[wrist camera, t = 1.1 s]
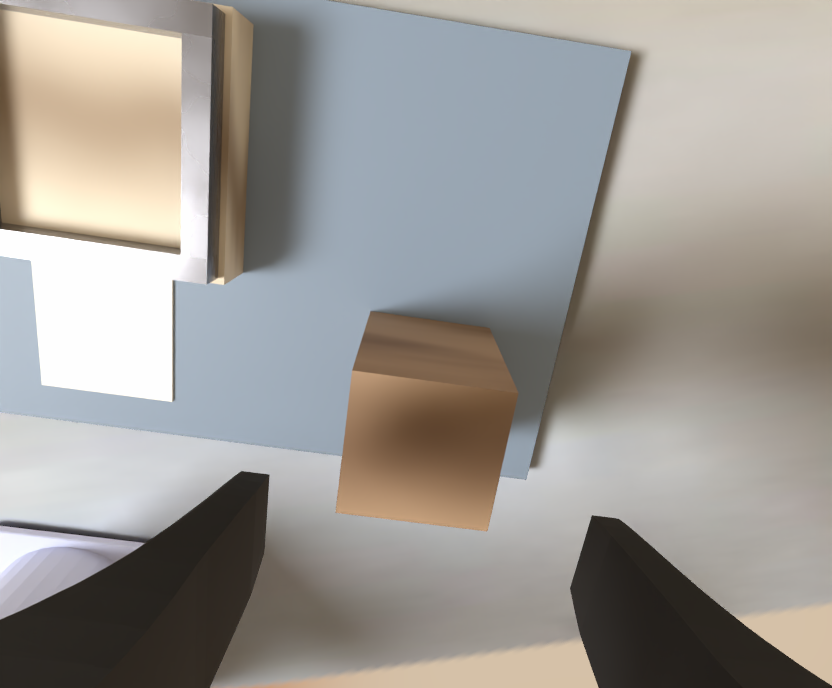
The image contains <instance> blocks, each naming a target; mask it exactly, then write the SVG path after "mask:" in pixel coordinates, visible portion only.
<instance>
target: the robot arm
mask: <svg viewBox="0 0 832 688" xmlns="http://www.w3.org/2000/svg"><path fill="white" fill-rule="evenodd" d="M268 489H269V475H267V474H259V473H252V472H244V471H241V472H240V473H238V474H237V475H236V476H234V477H233V478H232V479H230V480H229V481H228V482H227V483H225V484H224V485H223V486H222V487H220V488H219V489H218V490H217V491H215V492H214V493H213V494H212V495H210V496H209V497H208V498H207V499H205V500H204V501H203V502H201V503H200V504H199V505H198V506H196V507H195V508H194V509H192V510H191V511H190V512H188V513H187V514H186V515H184V516H183V517H182V518H180V519H179V520H178V521H176V522H175V523H174V524H172V525H171V526H170V527H168V528H167V529H165V530H164V531H162V532H161V533H159V534H158V535H156V536H155V537H154V538H152V539H151V540H149V541H148V542H146V543H141V542H133V541H124V540H116V539H108V538H99V537H91V536H82V535H74V534H65V533H57V532H48V531H40V530H32V529H23V528H15V527H6V526H0V688H210V685H211V683H212V681H213V679H214V677H215V674H216V672H217V670H218V668H219V665H220V663H221V661H222V659H223V656H224V654H225V652H226V650H227V648H228V645H229V643H230V641H231V639H232V636H233V634H234V632H235V630H236V627H237V625H238V623H239V621H240V618H241V616H242V614H243V612H244V609H245V607H246V605H247V603H248V600H249V598H250V596H251V593H252V589H253V586H254V583H255V580H256V577H257V574H258V571H259V567H260V564H261V561H262V558H263V554H264V549H265V534H266V519H267V504H268ZM570 589H571V594H572V599H573V604H574V609H575V614H576V618H577V623H578V627H579V631H580V635H581V638H582V641H583V644H584V647H585V649H586V652H587V655H588V658H589V661H590V664H591V667H592V670H593V673H594V676H595V678H596V681H597V684H598V687H599V688H832V686H831V685H830V684H828V683H826V682H825V681H823V680H822V679H820V678H819V677H817V676H816V675H814V674H813V673H811V672H810V671H808V670H807V669H805V668H804V667H802V666H801V665H799V664H798V663H796V662H795V661H793V660H792V659H791V658H789V657H788V656H786V655H785V654H784V653H782V652H781V651H779V650H778V649H777V648H775V647H774V646H772V645H771V644H769V643H768V642H766V641H765V640H764V639H762V638H761V637H760V636H758V635H757V634H756V633H754V632H753V631H752V630H750V629H749V628H748V627H746V626H745V625H744V624H743V623H741V622H740V621H739V620H738V619H736V618H735V617H734V616H733V615H731V614H730V613H729V612H728V611H726V610H725V609H724V608H723V607H721V606H720V605H719V604H718V603H716V602H715V601H714V600H713V599H711V598H710V597H709V596H708V595H707V594H705V593H704V592H703V591H702V590H701V589H700V588H698V587H697V586H696V585H695V584H694V583H693V582H691V581H690V580H689V579H688V578H687V577H686V576H684V575H683V574H682V573H681V572H680V571H679V570H678V569H676V568H675V567H674V566H673V565H672V564H671V563H670V562H669V561H667V560H666V559H665V558H664V557H663V556H662V555H661V554H660V553H658V552H657V551H656V550H655V549H654V548H653V547H652V546H651V545H649V544H648V543H647V542H646V541H645V540H644V539H643V538H641V537H640V536H639V535H638V534H637V533H636V532H635V531H633V530H632V529H631V528H630V527H629V526H627V525H626V524H625V523H624V522H622V521H621V520H620V519H616V518H608V517H601V516H593V515H592V517H591V521H590V524H589V527H588V531H587V534H586V537H585V541H584V544H583V547H582V551H581V554H580V557H579V561H578V564H577V567H576V571H575V574H574V577H573V581H572V584H571V587H570Z"/></svg>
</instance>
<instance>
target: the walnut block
mask: <svg viewBox="0 0 832 688" xmlns="http://www.w3.org/2000/svg"><path fill="white" fill-rule="evenodd" d="M518 394H519V393H518V391H517V388H516V386H515V384H514V382H513V379H512V377H511V375H510V373H509V370H508V368H507V366H506V364H505V361H504V359H503V357H502V355H501V352H500V350H499V348H498V346H497V344H496V341H495V339H494V337H493V335H492V332H491V330H490V328H486V327H479V326H472V325H465V324H458V323H451V322H444V321H437V320H430V319H423V318H415V317H408V316H401V315H394V314H387V313H380V312H373V311H370V314H369V318H368V321H367V324H366V327H365V330H364V334H363V337H362V340H361V343H360V346H359V350H358V353H357V356H356V359H355V363H354V366H353V369H352V375H351V384H350V392H349V401H348V410H347V418H346V427H345V436H344V444H343V453H342V462H341V470H340V479H339V487H338V496H337V505H336V513H343V514H351V515H359V516H367V517H375V518H383V519H391V520H399V521H408V522H416V523H424V524H432V525H440V526H448V527H456V528H464V529H472V530H481V531H487V530H488V526H489V522H490V517H491V513H492V508H493V504H494V499H495V495H496V491H497V486H498V482H499V477H500V473H501V469H502V464H503V460H504V455H505V451H506V447H507V442H508V438H509V433H510V429H511V424H512V420H513V416H514V411H515V407H516V402H517V398H518Z"/></svg>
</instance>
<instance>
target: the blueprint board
mask: <svg viewBox="0 0 832 688" xmlns="http://www.w3.org/2000/svg"><path fill="white" fill-rule="evenodd" d="M630 55H631V51H627V50H621V49H615V48H609V47H603V46H597V45H591V44H585V43H579V42H574V41H568V40H562V39H556V38H550V37H544V36H538V35H532V34H526V33H520V32H514V31H508V30H502V29H496V28H490V27H484V26H478V25H472V24H466V23H460V22H454V21H448V20H442V19H436V18H430V17H424V16H418V15H412V14H406V13H400V12H394V11H388V10H382V9H376V8H370V7H364V6H358V5H352V4H346V3H340V2H334V1H328V0H0V412H1V413H9V414H17V415H25V416H33V417H41V418H48V419H56V420H64V421H72V422H80V423H87V424H95V425H103V426H111V427H119V428H126V429H134V430H142V431H150V432H158V433H165V434H173V435H181V436H189V437H197V438H204V439H212V440H220V441H228V442H236V443H244V444H251V445H259V446H267V447H275V448H283V449H290V450H298V451H306V452H314V453H322V454H329V455H337V456H342V453H343V444H344V436H345V427H346V418H347V410H348V401H349V392H350V384H351V375H352V369H353V366H354V363H355V359H356V356H357V353H358V350H359V346H360V343H361V340H362V337H363V334H364V330H365V327H366V324H367V321H368V318H369V314H370V311H373V312H380V313H387V314H394V315H401V316H408V317H415V318H423V319H430V320H437V321H444V322H451V323H458V324H465V325H472V326H479V327H486V328H490V330H491V332H492V335H493V337H494V339H495V341H496V344H497V346H498V348H499V350H500V352H501V355H502V357H503V359H504V361H505V364H506V366H507V368H508V370H509V373H510V375H511V377H512V379H513V382H514V384H515V386H516V388H517V391H518V393H519V394H518V398H517V402H516V407H515V411H514V416H513V420H512V424H511V429H510V433H509V438H508V442H507V447H506V451H505V455H504V460H503V464H502V469H501V473H500V476H501V477H509V478H517V479H525V480H526V479H527V475H528V471H529V467H530V463H531V459H532V455H533V450H534V446H535V442H536V438H537V434H538V430H539V426H540V422H541V418H542V414H543V410H544V406H545V402H546V397H547V393H548V389H549V385H550V381H551V377H552V373H553V369H554V365H555V361H556V357H557V353H558V349H559V345H560V340H561V336H562V332H563V328H564V324H565V320H566V316H567V312H568V308H569V304H570V300H571V296H572V292H573V287H574V283H575V279H576V275H577V271H578V267H579V263H580V259H581V255H582V251H583V247H584V243H585V239H586V235H587V230H588V226H589V222H590V218H591V214H592V210H593V206H594V202H595V198H596V194H597V190H598V186H599V182H600V178H601V173H602V169H603V165H604V161H605V157H606V153H607V149H608V145H609V141H610V137H611V133H612V129H613V125H614V120H615V116H616V112H617V108H618V104H619V100H620V96H621V92H622V88H623V84H624V80H625V76H626V72H627V68H628V63H629V59H630Z"/></svg>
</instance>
